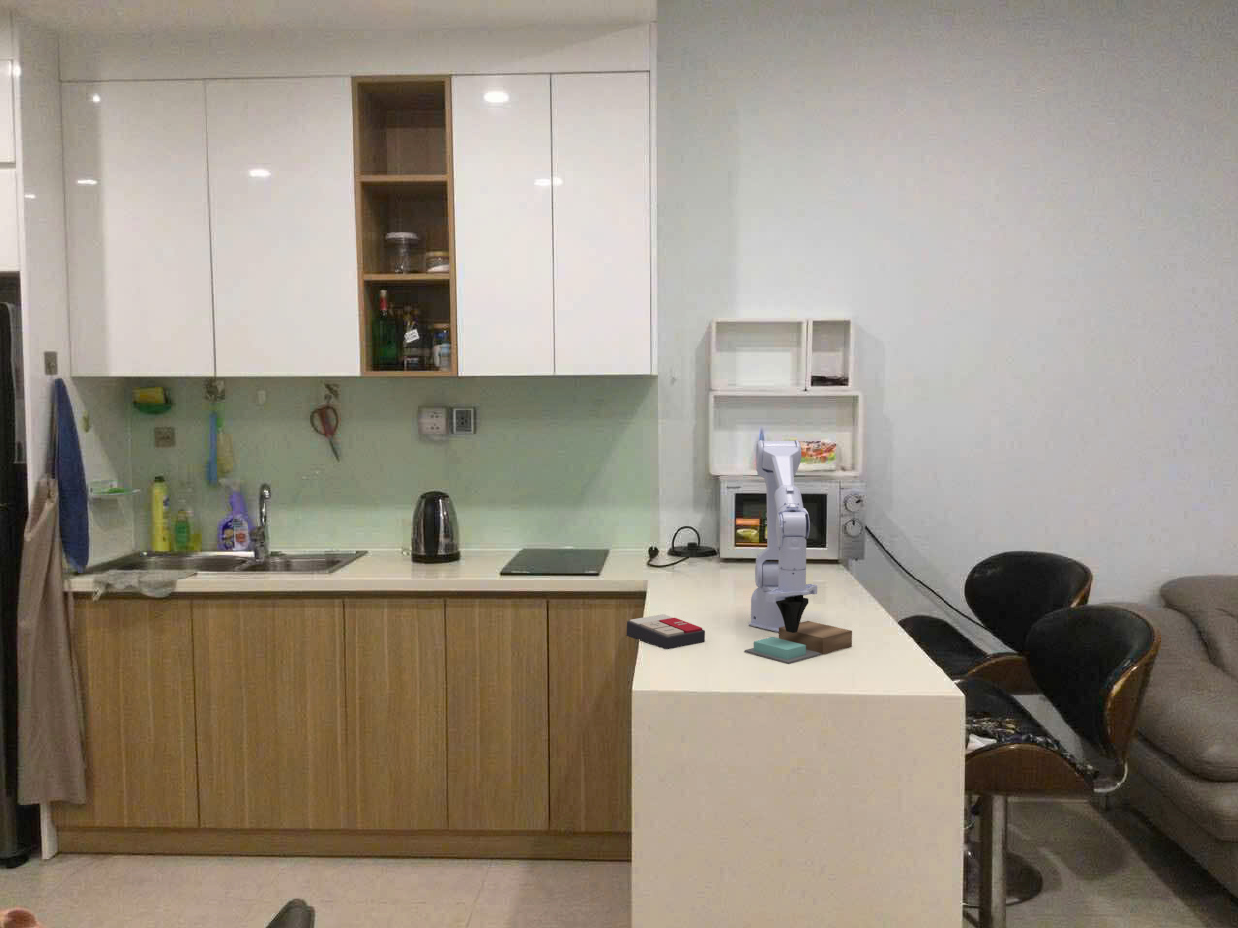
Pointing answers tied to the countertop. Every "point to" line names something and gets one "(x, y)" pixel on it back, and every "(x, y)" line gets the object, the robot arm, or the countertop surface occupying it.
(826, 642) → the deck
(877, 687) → the countertop surface
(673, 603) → the countertop surface
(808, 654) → the mat
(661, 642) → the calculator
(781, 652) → the block
